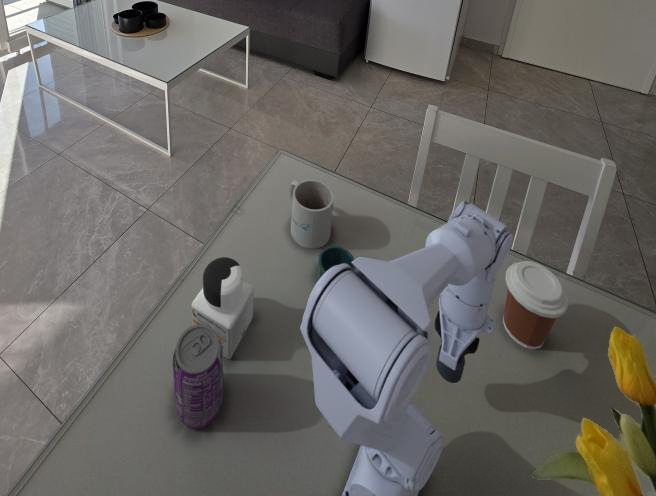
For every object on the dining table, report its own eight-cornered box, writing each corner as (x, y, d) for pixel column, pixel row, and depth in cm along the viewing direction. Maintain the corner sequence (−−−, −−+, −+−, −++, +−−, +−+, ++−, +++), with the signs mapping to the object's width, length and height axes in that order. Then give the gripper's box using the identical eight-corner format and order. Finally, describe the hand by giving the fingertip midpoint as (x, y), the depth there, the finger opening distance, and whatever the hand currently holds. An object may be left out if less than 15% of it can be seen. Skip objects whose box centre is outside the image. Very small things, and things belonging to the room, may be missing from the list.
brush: (458, 389, 61) (469, 346, 58) (433, 371, 63) (442, 329, 60) (464, 365, 64) (475, 323, 61) (439, 349, 66) (448, 307, 63)
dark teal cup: (343, 307, 78) (345, 287, 77) (310, 284, 82) (311, 265, 80) (359, 277, 84) (361, 258, 82) (327, 257, 87) (329, 239, 86)
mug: (337, 242, 91) (340, 205, 88) (299, 253, 88) (302, 215, 85) (313, 198, 102) (316, 164, 99) (279, 207, 99) (281, 172, 96)
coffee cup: (546, 371, 69) (565, 320, 66) (487, 329, 75) (501, 280, 71) (558, 328, 76) (575, 278, 72) (502, 292, 82) (516, 245, 78)
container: (191, 336, 73) (189, 280, 69) (217, 296, 79) (216, 243, 75) (229, 361, 69) (229, 304, 65) (253, 317, 76) (254, 263, 72)
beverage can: (201, 362, 69) (199, 310, 65) (232, 397, 65) (232, 344, 61) (165, 404, 64) (161, 350, 60) (197, 445, 60) (195, 390, 56)
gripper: (489, 354, 50) (470, 424, 55) (509, 261, 62) (491, 325, 66) (429, 316, 54) (415, 384, 59) (457, 235, 65) (444, 297, 70)
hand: (452, 351), depth 63 cm, fingers closed on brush
